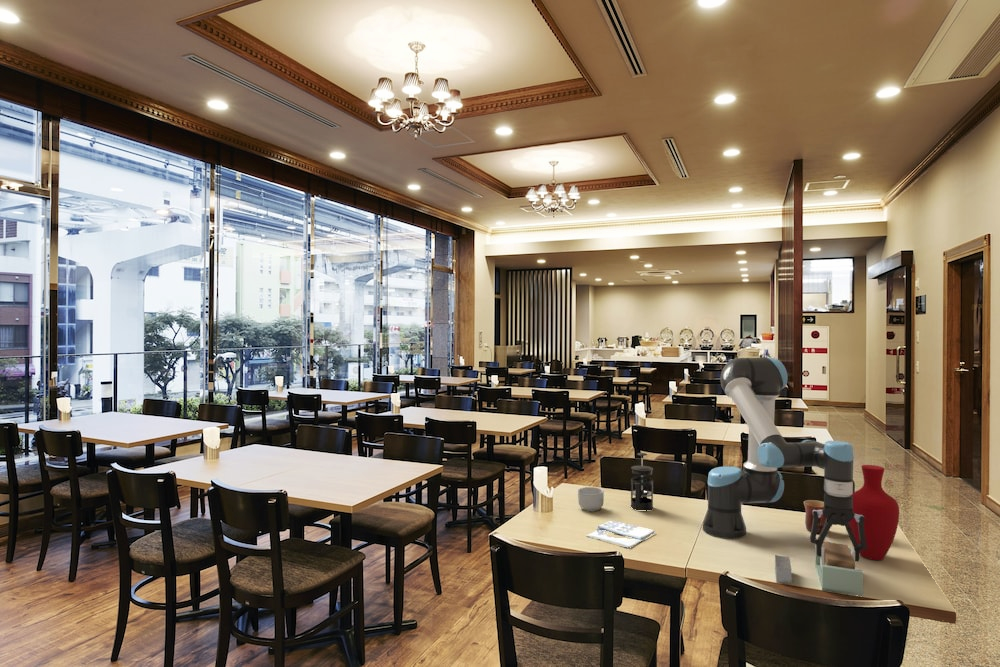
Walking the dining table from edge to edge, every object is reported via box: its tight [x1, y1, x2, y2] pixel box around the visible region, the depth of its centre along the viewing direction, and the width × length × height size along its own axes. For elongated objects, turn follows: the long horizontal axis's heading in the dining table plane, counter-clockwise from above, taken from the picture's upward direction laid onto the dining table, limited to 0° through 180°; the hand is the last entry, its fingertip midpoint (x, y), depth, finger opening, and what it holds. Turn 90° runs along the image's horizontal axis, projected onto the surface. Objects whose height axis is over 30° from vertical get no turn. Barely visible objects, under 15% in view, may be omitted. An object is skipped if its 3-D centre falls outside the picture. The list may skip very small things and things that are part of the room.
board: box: [823, 541, 856, 569], centre depth 177 cm, size 7×15×3 cm, turn 157°
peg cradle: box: [814, 544, 864, 597], centre depth 177 cm, size 10×20×7 cm, turn 157°
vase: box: [849, 464, 900, 561], centre depth 195 cm, size 15×15×30 cm
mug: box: [803, 499, 827, 535], centre depth 218 cm, size 12×9×10 cm
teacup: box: [577, 485, 605, 512], centre depth 247 cm, size 14×11×8 cm
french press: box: [630, 452, 654, 512], centre depth 246 cm, size 12×9×23 cm
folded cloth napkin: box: [585, 520, 656, 549], centre depth 215 cm, size 19×20×2 cm
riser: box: [774, 554, 792, 585], centre depth 179 cm, size 4×10×4 cm, turn 157°
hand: (837, 569), depth 177 cm, fingers open, 7 cm apart
